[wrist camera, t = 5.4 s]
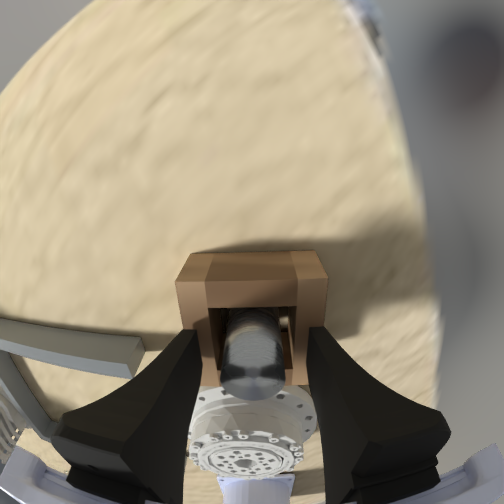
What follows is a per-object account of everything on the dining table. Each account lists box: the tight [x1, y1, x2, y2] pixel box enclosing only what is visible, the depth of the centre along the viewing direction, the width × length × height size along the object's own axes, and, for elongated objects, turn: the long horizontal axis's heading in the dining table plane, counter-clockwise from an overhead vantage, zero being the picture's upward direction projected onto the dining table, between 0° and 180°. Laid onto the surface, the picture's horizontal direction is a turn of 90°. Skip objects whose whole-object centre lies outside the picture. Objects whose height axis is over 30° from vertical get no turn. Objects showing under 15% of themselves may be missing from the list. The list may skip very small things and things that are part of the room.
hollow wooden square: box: [175, 250, 328, 387], centre depth 13 cm, size 6×6×3 cm
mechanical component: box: [188, 385, 317, 480], centre depth 17 cm, size 10×4×10 cm
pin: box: [220, 307, 286, 401], centre depth 12 cm, size 2×2×6 cm
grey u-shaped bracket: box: [0, 318, 187, 472], centre depth 18 cm, size 15×17×2 cm
